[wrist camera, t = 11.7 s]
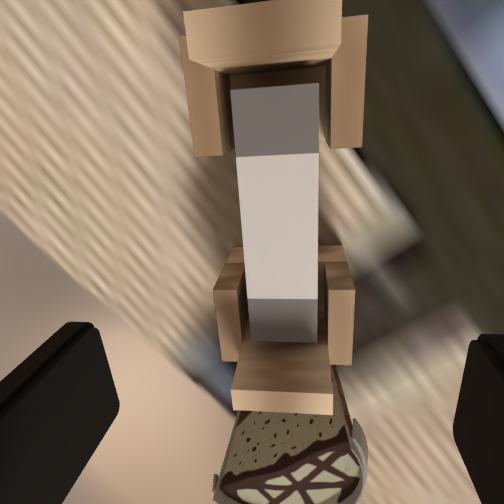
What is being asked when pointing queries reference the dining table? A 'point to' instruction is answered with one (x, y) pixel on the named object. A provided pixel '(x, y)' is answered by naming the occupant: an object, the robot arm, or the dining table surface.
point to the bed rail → (279, 207)
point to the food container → (294, 457)
